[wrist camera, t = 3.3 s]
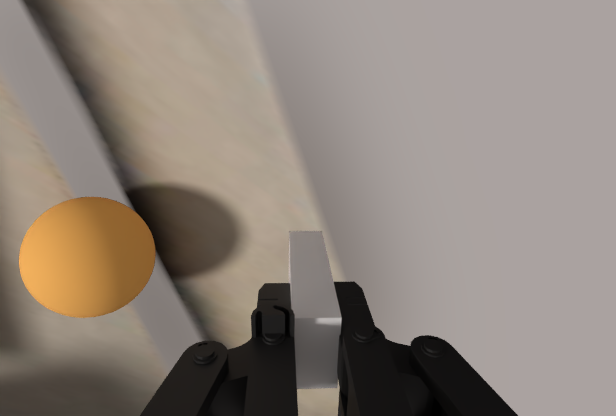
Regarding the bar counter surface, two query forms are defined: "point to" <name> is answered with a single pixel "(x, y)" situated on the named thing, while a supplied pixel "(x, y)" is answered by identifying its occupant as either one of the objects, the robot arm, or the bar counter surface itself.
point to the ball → (87, 257)
